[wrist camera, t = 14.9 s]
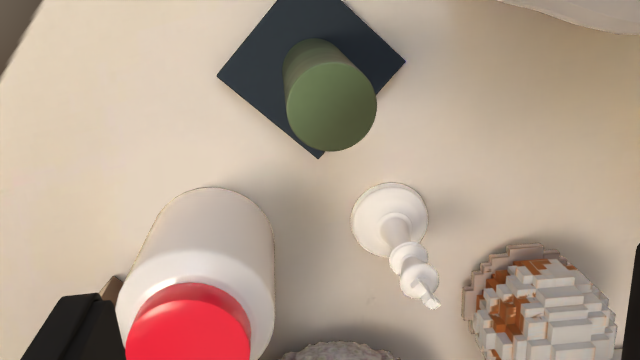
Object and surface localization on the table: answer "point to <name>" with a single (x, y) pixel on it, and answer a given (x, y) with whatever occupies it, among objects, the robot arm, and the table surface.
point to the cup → (590, 13)
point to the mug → (617, 354)
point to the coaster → (286, 31)
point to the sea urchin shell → (339, 352)
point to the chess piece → (397, 236)
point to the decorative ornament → (537, 308)
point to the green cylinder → (326, 96)
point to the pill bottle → (201, 282)
